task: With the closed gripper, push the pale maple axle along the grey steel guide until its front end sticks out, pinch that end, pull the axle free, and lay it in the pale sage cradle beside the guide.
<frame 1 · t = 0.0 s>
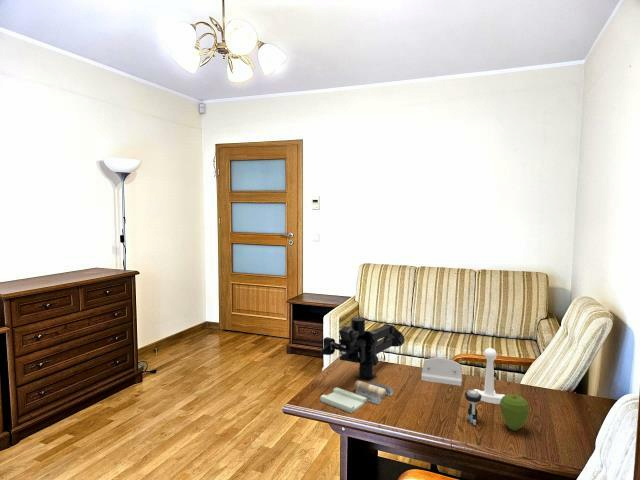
hand: (330, 355, 156), 17 cm above the table, tool horizontal, fingers open, 9 cm apart
apple: (513, 429, 136), on the table
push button: (472, 421, 140), on the table
steel guide: (374, 395, 159), on the table
maple axle: (369, 394, 160), on the table
joystick: (489, 398, 157), on the table
gray wall bracket: (441, 380, 174), on the table
sage cradle: (343, 402, 153), on the table
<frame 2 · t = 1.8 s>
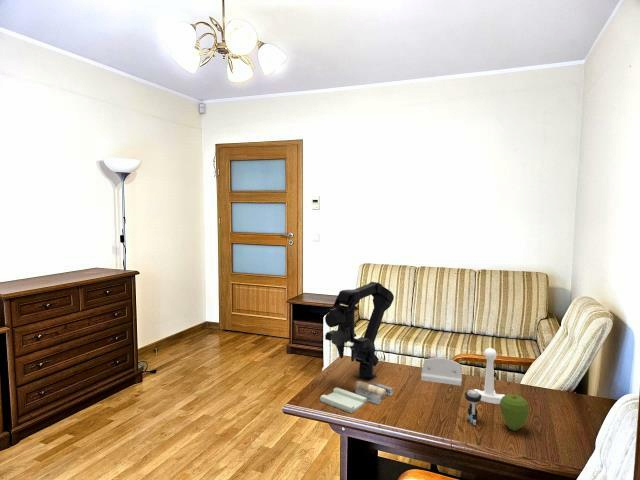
hand: (347, 359, 166), 11 cm above the table, tool pointing down, fingers open, 5 cm apart
nothing on the table moved.
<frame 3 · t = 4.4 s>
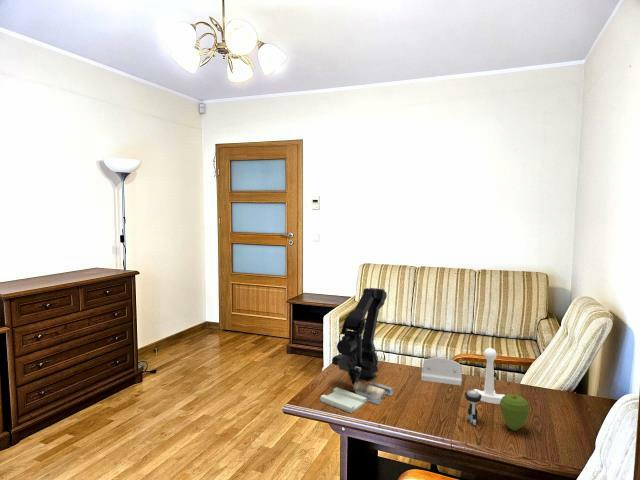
hand: (354, 385, 165), 2 cm above the table, tool pointing down, fingers closed
maple axle: (369, 394, 160), on the table, tilted 21°, touching gripper
everything else where it was.
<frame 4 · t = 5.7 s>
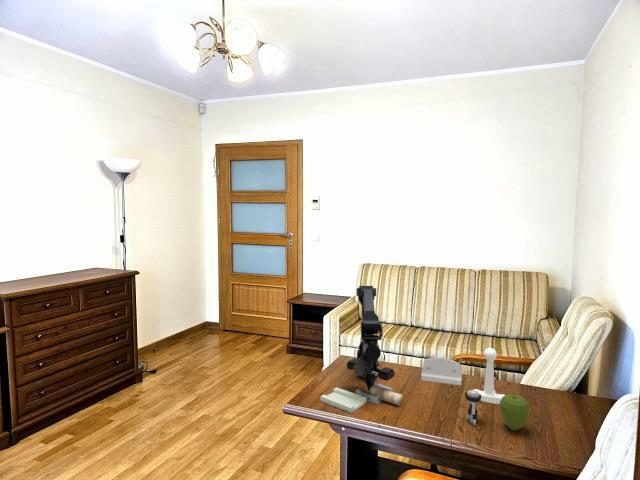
hand: (369, 390, 160), 2 cm above the table, tool pointing down, fingers closed
maple axle: (386, 399, 155), on the table, tilted 22°, touching gripper
everything else where it was.
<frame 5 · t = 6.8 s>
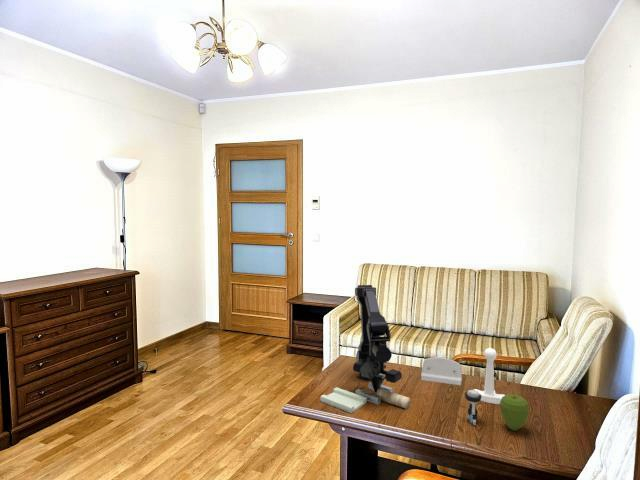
hand: (376, 392, 158), 2 cm above the table, tool pointing down, fingers closed
maple axle: (393, 402, 154), on the table, tilted 22°
everything else where it was.
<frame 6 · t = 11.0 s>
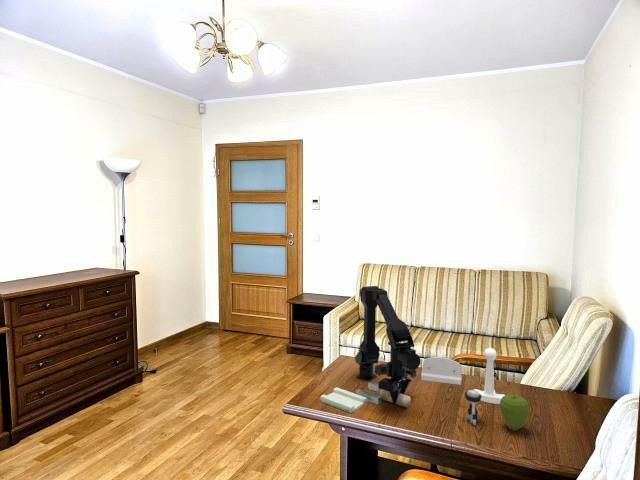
hand: (397, 400, 153), 1 cm above the table, tool pointing down, fingers closed on maple axle, 4 cm apart
maple axle: (393, 402, 154), on the table, touching gripper
everything else where it was.
when the fingers open (3 cm above the table, at t = 17.2 s): maple axle drops 1 cm, resting on sage cradle.
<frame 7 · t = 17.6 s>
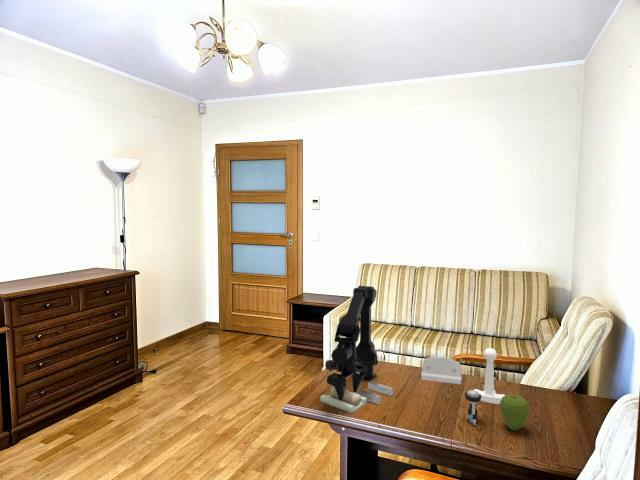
hand: (347, 396, 152), 3 cm above the table, tool pointing down, fingers open, 9 cm apart
maple axle: (344, 400, 153), point 1 cm above the table, touching sage cradle
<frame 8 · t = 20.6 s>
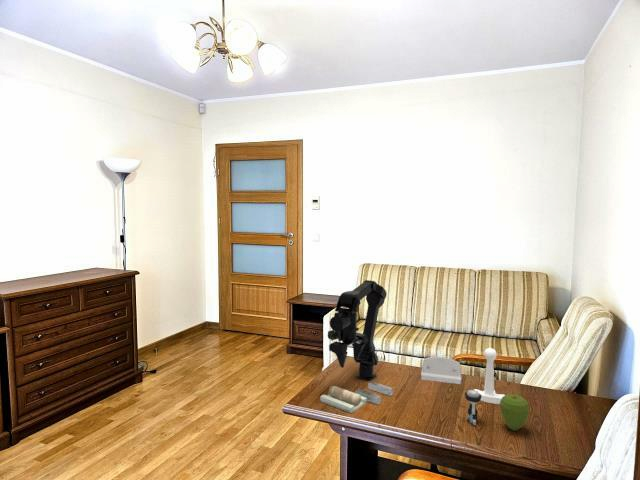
hand: (348, 363, 162), 11 cm above the table, tool pointing down, fingers open, 9 cm apart
at the end: maple axle inside the target area on the sage cradle (0.5 cm from its centre), point 0.8 cm above the sage cradle's base; the gripper is holding nothing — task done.
